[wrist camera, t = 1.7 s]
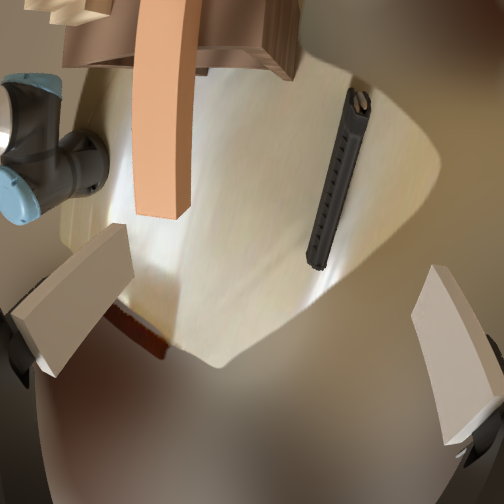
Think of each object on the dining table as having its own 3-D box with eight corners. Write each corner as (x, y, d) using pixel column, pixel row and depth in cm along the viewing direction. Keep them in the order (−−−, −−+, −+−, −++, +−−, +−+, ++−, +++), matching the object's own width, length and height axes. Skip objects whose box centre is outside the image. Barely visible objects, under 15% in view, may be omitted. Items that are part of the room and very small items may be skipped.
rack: (198, 76, 44) (5, 73, 11) (205, 7, 37) (40, -77, 4) (293, 81, 42) (237, 23, 9) (299, 8, 35) (261, -148, 2)
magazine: (318, 292, 50) (384, 126, 27) (300, 287, 50) (356, 118, 28) (324, 226, 61) (367, 89, 39) (309, 222, 61) (347, 84, 39)
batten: (190, 205, 20) (176, 220, 18) (153, 201, 21) (135, 214, 19) (224, -122, 6) (215, -137, 4) (187, -115, 7) (174, -129, 5)
